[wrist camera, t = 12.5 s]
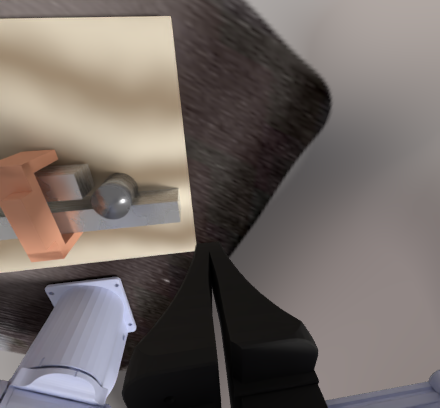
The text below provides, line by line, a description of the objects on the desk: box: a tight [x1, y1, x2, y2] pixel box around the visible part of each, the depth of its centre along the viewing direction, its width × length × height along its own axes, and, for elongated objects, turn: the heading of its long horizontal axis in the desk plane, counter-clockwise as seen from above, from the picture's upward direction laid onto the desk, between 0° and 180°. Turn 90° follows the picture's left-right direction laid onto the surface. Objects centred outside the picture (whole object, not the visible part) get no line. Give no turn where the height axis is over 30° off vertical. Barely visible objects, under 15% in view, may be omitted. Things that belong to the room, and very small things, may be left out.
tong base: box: [0, 173, 181, 240], centre depth 18 cm, size 4×21×3 cm, turn 92°
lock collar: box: [0, 149, 83, 262], centre depth 17 cm, size 8×2×5 cm, turn 2°
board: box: [0, 16, 196, 273], centre depth 19 cm, size 20×22×1 cm
